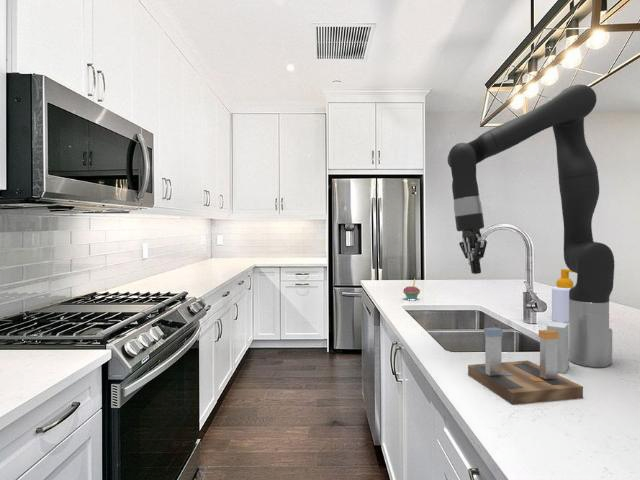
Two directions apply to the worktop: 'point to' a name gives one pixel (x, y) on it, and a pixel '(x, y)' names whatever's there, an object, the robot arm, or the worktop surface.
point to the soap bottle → (561, 297)
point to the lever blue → (493, 351)
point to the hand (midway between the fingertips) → (476, 273)
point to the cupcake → (411, 291)
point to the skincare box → (561, 345)
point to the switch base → (525, 383)
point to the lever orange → (548, 353)
